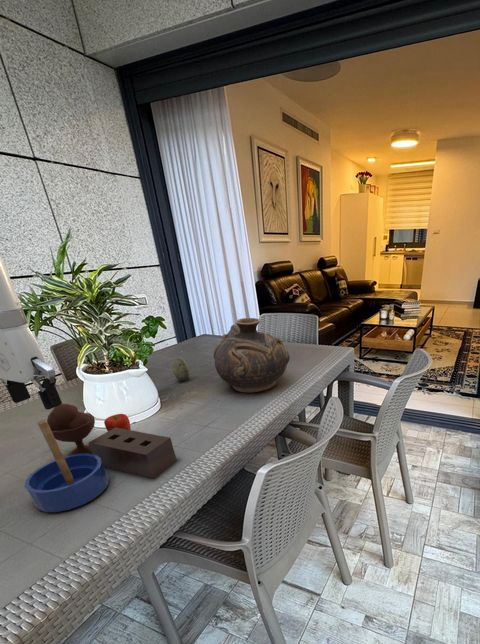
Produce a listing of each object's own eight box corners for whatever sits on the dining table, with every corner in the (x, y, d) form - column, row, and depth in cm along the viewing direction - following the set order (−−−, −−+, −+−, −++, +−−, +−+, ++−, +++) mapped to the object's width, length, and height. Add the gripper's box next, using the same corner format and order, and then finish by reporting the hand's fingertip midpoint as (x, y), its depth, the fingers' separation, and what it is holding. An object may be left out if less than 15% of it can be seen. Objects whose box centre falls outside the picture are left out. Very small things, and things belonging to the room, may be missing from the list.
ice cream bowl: (114, 445, 100) (95, 397, 92) (76, 467, 91) (52, 415, 84) (89, 438, 104) (70, 392, 96) (50, 458, 95) (26, 408, 88)
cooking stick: (68, 491, 81) (35, 423, 72) (75, 487, 82) (43, 419, 74) (73, 492, 81) (40, 424, 72) (80, 488, 82) (48, 420, 73)
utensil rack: (97, 465, 91) (88, 442, 88) (123, 449, 98) (115, 427, 94) (153, 478, 85) (145, 454, 82) (176, 460, 92) (170, 437, 89)
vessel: (240, 369, 152) (234, 309, 140) (300, 378, 144) (299, 316, 132) (202, 393, 130) (191, 324, 117) (270, 405, 122) (266, 333, 110)
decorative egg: (172, 382, 142) (166, 358, 137) (182, 377, 147) (176, 353, 142) (185, 383, 140) (179, 359, 135) (194, 378, 145) (189, 354, 140)
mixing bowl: (21, 506, 78) (8, 484, 75) (80, 469, 90) (71, 449, 87) (67, 520, 73) (56, 498, 71) (123, 479, 85) (115, 459, 82)
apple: (123, 432, 107) (116, 409, 103) (139, 435, 104) (131, 412, 101) (106, 442, 101) (97, 419, 98) (122, 446, 99) (113, 422, 96)
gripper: (-51, 321, 65) (-8, 405, 73) (9, 328, 60) (48, 417, 68) (-6, 314, 71) (29, 391, 80) (52, 319, 66) (83, 402, 74)
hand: (38, 403), depth 74 cm, fingers open, 9 cm apart
